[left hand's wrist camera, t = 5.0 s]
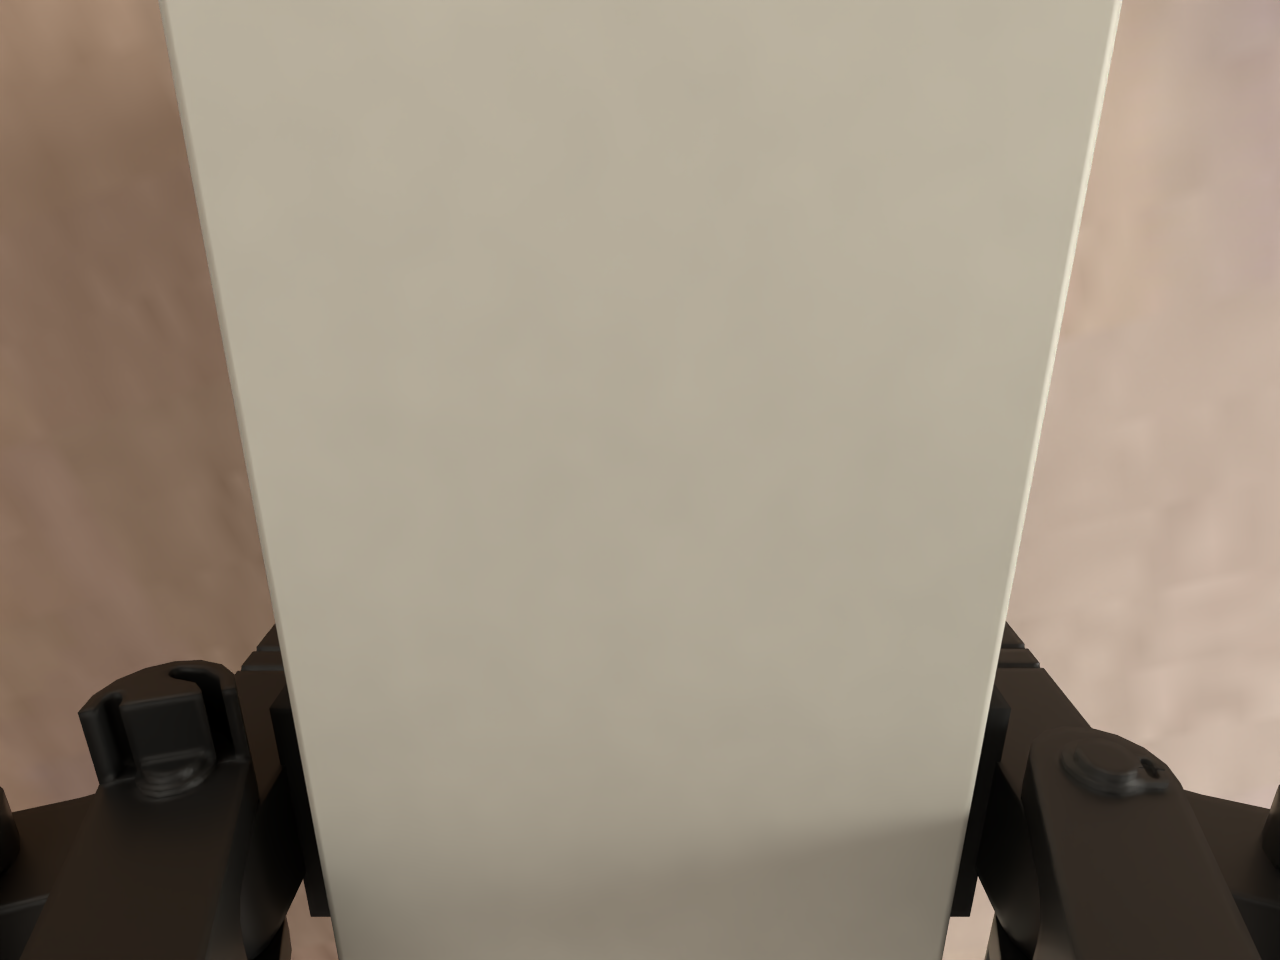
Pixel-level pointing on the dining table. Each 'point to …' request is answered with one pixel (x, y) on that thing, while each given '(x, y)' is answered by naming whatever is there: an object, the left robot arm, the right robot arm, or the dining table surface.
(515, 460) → the bar
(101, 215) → the dining table surface
